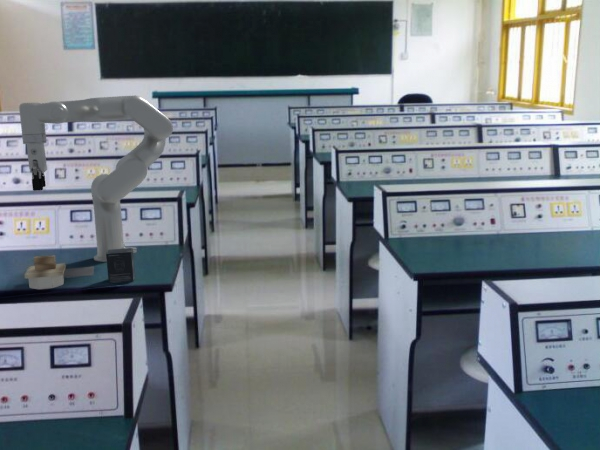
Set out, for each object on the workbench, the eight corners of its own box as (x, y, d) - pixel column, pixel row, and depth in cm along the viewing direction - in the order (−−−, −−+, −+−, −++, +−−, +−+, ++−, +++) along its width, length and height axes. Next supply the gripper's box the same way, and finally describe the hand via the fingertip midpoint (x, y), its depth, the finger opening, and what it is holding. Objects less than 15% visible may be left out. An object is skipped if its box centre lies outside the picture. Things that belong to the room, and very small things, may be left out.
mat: (94, 267, 218) (94, 266, 218) (93, 276, 207) (93, 275, 207) (57, 271, 215) (57, 269, 215) (55, 280, 204) (55, 278, 204)
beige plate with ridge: (65, 266, 203) (64, 251, 202) (62, 275, 193) (61, 259, 192) (29, 269, 200) (28, 254, 199) (24, 278, 190) (23, 262, 189)
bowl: (64, 280, 204) (63, 267, 203) (62, 288, 194) (61, 274, 193) (32, 283, 201) (30, 270, 200) (28, 292, 191) (27, 278, 190)
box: (135, 278, 204) (132, 247, 202) (133, 283, 199) (131, 251, 197) (110, 280, 203) (108, 248, 201) (108, 285, 197) (105, 253, 195)
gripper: (43, 140, 205) (48, 191, 208) (48, 137, 221) (53, 185, 224) (19, 141, 203) (24, 192, 206) (25, 138, 219) (30, 186, 222)
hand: (39, 188), depth 215 cm, fingers open, 9 cm apart
